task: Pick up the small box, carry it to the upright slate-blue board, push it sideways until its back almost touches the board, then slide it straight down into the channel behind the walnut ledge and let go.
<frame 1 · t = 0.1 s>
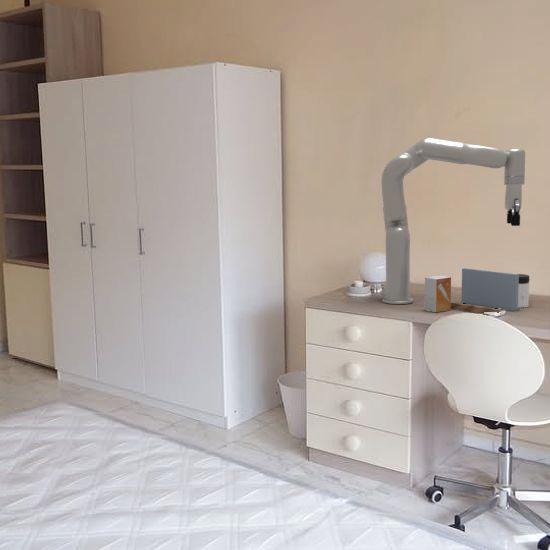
hand: (513, 224, 282), 31 cm above the table, tool pointing down, fingers open, 9 cm apart
jar: (517, 306, 280), on the table
small box: (437, 310, 276), on the table
cleat ledge: (471, 311, 272), on the table
wall board: (488, 306, 280), on the table
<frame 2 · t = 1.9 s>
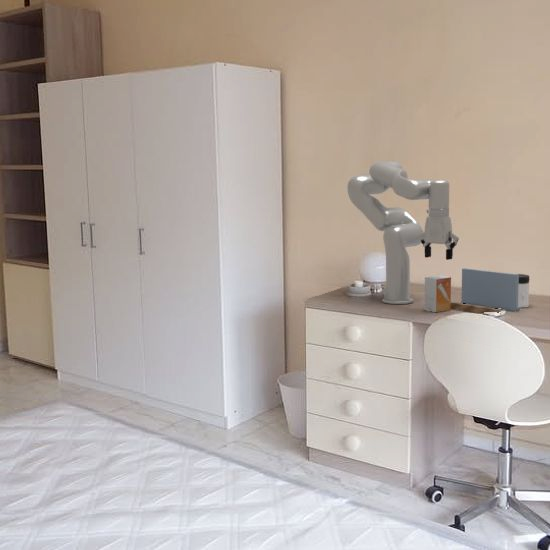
hand: (438, 258, 273), 20 cm above the table, tool pointing down, fingers open, 9 cm apart
nothing on the table moved.
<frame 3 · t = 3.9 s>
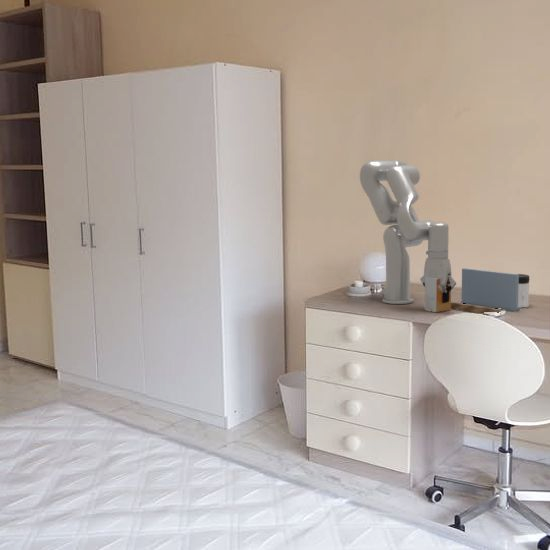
hand: (437, 300, 275), 4 cm above the table, tool pointing down, fingers closed on small box, 6 cm apart
small box: (437, 310, 276), on the table, touching gripper
everything else where it was.
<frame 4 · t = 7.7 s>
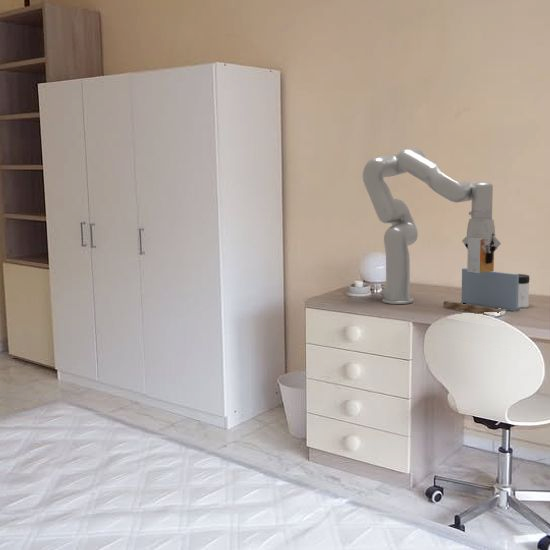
hand: (480, 261, 273), 18 cm above the table, tool pointing down, fingers closed on small box, 6 cm apart
small box: (480, 272, 273), point 15 cm above the table, touching gripper
everything else where it was.
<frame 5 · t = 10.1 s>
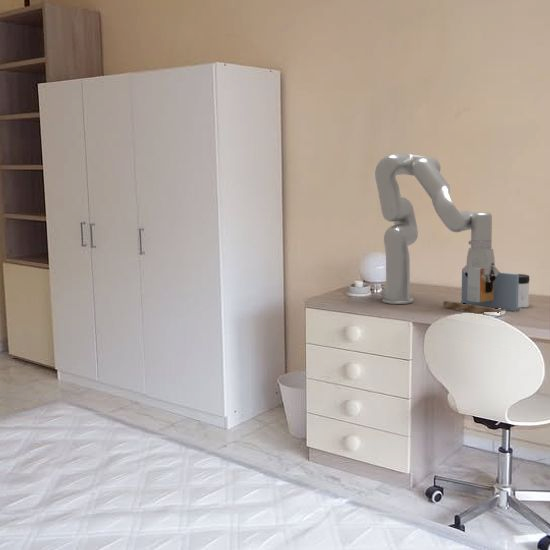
hand: (480, 290, 274), 7 cm above the table, tool pointing down, fingers closed on small box, 6 cm apart
small box: (480, 300, 275), point 3 cm above the table, touching gripper
everything else where it was.
when the fingers open (5 cm above the table, at t = 11.8 s): small box stays where it is, on the table.
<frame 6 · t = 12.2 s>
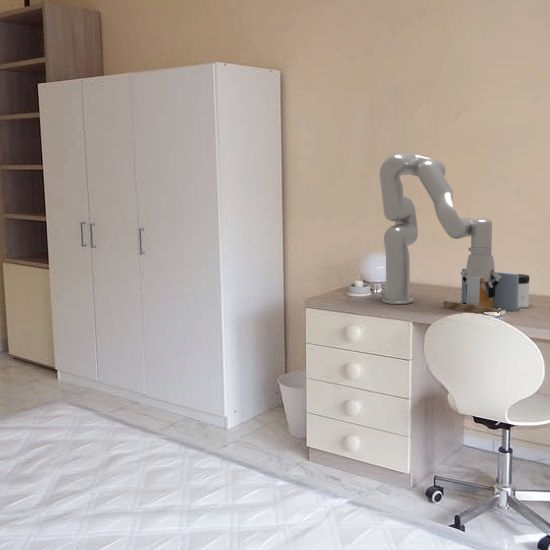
hand: (480, 295, 275), 5 cm above the table, tool pointing down, fingers open, 9 cm apart
small box: (479, 309, 276), on the table
everything else where it was.
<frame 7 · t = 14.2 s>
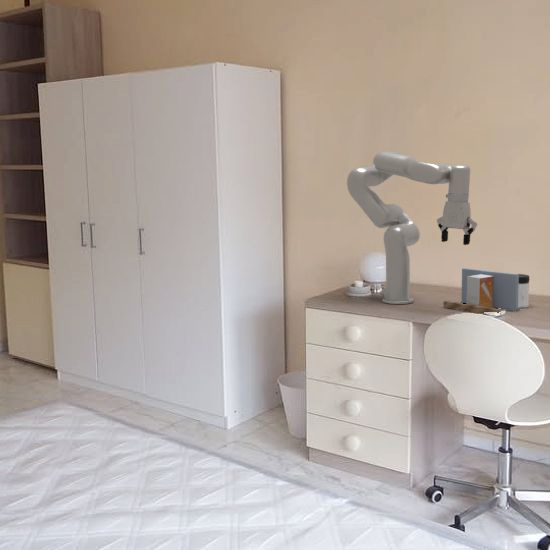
hand: (455, 243, 274), 26 cm above the table, tool pointing down, fingers open, 9 cm apart
nothing on the table moved.
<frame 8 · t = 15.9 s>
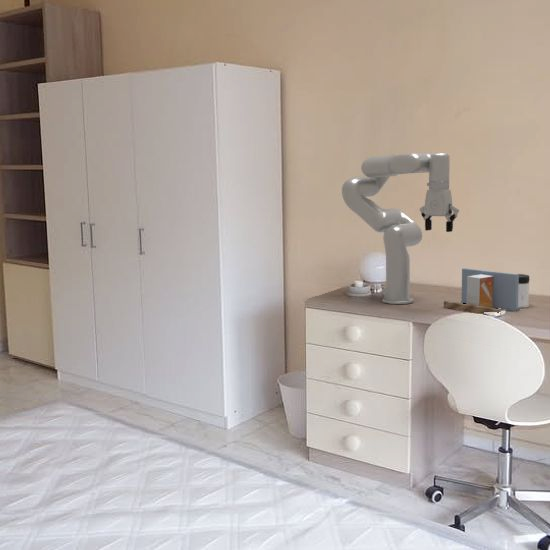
hand: (438, 230, 275), 30 cm above the table, tool pointing down, fingers open, 9 cm apart
nothing on the table moved.
at the end: small box inside the target area (0.2 cm from its centre), on the table; small box tilted 0°; the gripper is holding nothing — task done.
